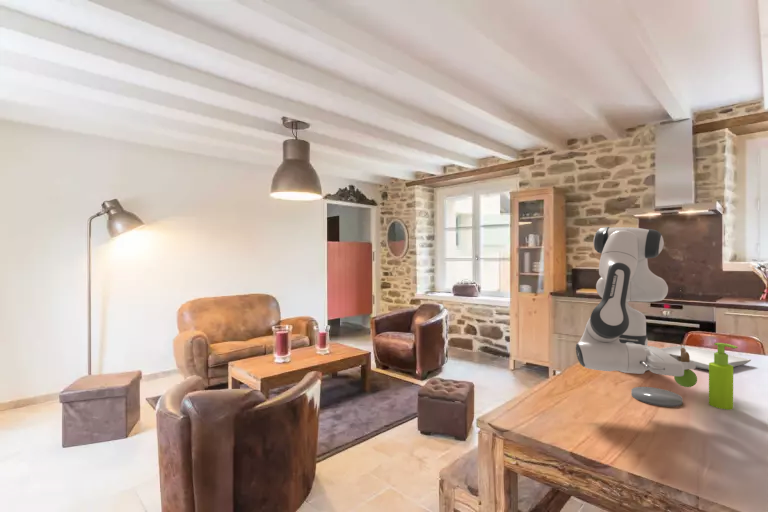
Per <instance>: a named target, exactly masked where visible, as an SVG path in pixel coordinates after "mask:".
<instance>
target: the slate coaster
mask: <svg viewBox="0 0 768 512" xmlns="http://www.w3.org/2000/svg"><path fill="white" fill-rule="evenodd" d="M630 395H631V396H632V398H634V399H635V400H637V401H639V402H642V403H646V404H649V405H653V406H658V407H668V408H674V407H675V408H676V407H681V406H682V405H683V397H682V396H681V395H680V394H678V393H676V392H673V391H671V390H668V389H664V388H658V387H651V386H650V387H649V386H636V387H633V388H631V393H630Z"/></svg>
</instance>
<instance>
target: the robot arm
mask: <svg viewBox="0 0 768 512" xmlns="http://www.w3.org/2000/svg"><path fill="white" fill-rule="evenodd" d="M592 244H593V247H594V250H595V251H596V252H597V253H598V254H600V257H599V258H600V259H599V265H598V274H599V279H598V280H597V281H596V284H595V289H596V292H597V294H598V296H599V297H600V299H601V301H600V302H599V303H598V304H597V305H596V307H594V309H592V312H591V315H590V316H589V318H588V320H587V321H586V324H585V326H584V327H585V328H584V331H583V333H582V336H581V337H580V338H579V339H580V340H579V341H578V342H577V343H576V345H575V353H576V357H577V360H578V362H579V364H580V365H581V366H582V367H584V368H586V369H588V370H593V371H600V372H601V371H602V372H614V371H615V372H621V373H626V374H627V373H628V374H638V375H643V374H645V372H646V371H647V372H648V371H649V372H651V373H653V374H657V375H660V376H661V375H663V376H670V377H674V376H678V377H679V376H683V375H684V370H685V369H690V370H696V367H695V363H693V362H687V361H686V362H681V355H674V354H669V353H666V352H664V351H662V350H661V348H659V347H657V346H653V345H648V343H649V342H648V334H647V318H646V315H645V313H643V312H641V311H639V310H638V309H635V308H633V307H632V306H630V304H629V302H642V303H643V302H644V303H651V302H660V301H663V300H664V299H665V298H666V297H667V295H668V292H669V286H668V284H667V282H666V280H665V279H664V278H662V277H660V276H658V275H656V274H655V273H653V272H652V271H651V269H650V268H649V263H648V259H655V258H657V257H658V256H660V253H661V252H662V251H663V249H664V246H665V245H664V244H665V243H664V237H663V235H662V233H661V232H660V231H658V230H657V229H656V230H655V229H651V228H649V229H646V228H642V227H641V228H640V227H631V226H630V227H622V226H621V227H617V226H616V227H610V226H606V227H600V228H598V229H597V230H596V232H595V234H594V236H593V243H592Z"/></svg>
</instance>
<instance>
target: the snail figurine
mask: <svg viewBox="0 0 768 512" xmlns="http://www.w3.org/2000/svg"><path fill="white" fill-rule="evenodd" d="M679 346H681V349H680V350H681V362H686V361H687V362H690V357H689V354H688V352H686V349H685V348H682V346H686V344H685V343H680V345H679ZM673 377H674V381H675V382H676V383H677V384H678V385H679V386H681V387H683V388H691V387H694V386H695V385H696V384H697V382H698V376H697V374H696V372H694V371H693V369H685V370H684V375H683V376H679V377H678V376H673Z"/></svg>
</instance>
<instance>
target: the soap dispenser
mask: <svg viewBox="0 0 768 512" xmlns="http://www.w3.org/2000/svg"><path fill="white" fill-rule="evenodd" d="M714 346H717V351H715V352H716V353H714V362H711V363H709V370H708V405H709V406H711V407H713V408H717V409H720V410H727V411H728V410H733V409H734V367H733V366H732V365H729V364H728V355H729V354H728V353H727V352H725V347H727V348H730V349H739V346H736V345H733V344H730V343H726V342H725V343H724V342H714Z"/></svg>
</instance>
